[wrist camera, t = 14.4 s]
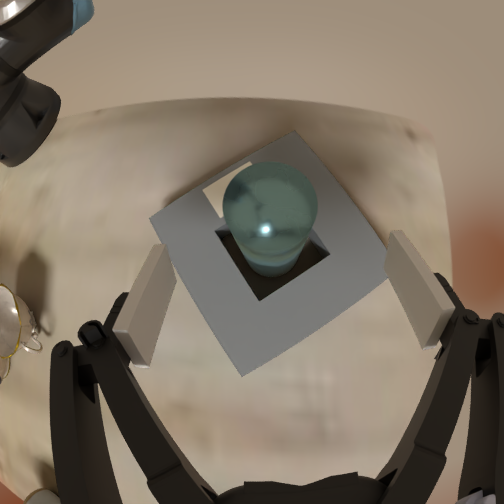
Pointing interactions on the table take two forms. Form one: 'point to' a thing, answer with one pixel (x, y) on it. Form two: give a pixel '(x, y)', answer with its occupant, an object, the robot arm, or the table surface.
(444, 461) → the robot arm
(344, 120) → the table surface
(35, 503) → the ceramic mug
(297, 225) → the teal cylinder
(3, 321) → the chinaware
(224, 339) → the socket block
